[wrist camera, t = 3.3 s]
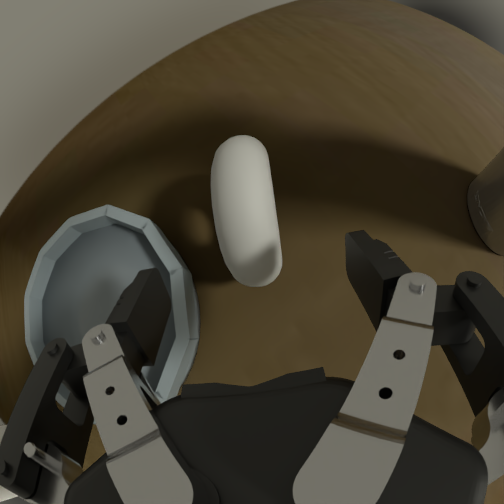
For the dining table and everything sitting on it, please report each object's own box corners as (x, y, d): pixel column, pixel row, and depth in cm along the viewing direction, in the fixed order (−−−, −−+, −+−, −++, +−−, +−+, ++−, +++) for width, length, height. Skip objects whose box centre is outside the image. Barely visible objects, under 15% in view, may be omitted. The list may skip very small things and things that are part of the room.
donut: (233, 186, 24) (204, 108, 15) (271, 181, 24) (261, 98, 14) (241, 299, 21) (205, 271, 12) (286, 294, 21) (286, 262, 11)
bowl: (190, 201, 24) (178, 184, 21) (216, 420, 19) (205, 433, 16) (47, 241, 26) (29, 233, 23) (55, 405, 20) (35, 409, 17)
